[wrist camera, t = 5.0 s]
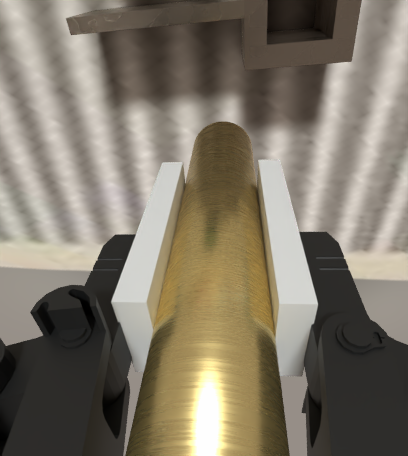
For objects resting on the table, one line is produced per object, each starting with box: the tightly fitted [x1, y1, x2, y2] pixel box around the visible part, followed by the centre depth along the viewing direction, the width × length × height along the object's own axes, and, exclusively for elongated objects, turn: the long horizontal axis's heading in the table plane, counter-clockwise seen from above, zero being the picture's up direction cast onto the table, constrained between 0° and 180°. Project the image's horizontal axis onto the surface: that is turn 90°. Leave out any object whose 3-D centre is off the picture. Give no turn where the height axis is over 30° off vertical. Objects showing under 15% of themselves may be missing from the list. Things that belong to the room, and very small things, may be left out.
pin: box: [126, 122, 290, 456], centre depth 9 cm, size 4×4×17 cm
